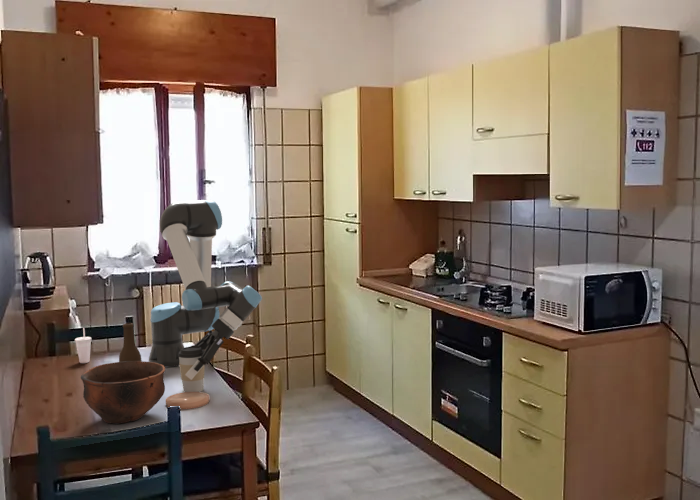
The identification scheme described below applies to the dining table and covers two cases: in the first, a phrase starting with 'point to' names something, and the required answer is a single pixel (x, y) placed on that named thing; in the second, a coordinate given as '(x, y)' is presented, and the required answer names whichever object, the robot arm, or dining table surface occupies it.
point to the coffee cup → (187, 360)
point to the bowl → (123, 389)
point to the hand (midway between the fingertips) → (184, 372)
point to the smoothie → (83, 348)
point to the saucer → (188, 400)
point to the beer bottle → (129, 345)
